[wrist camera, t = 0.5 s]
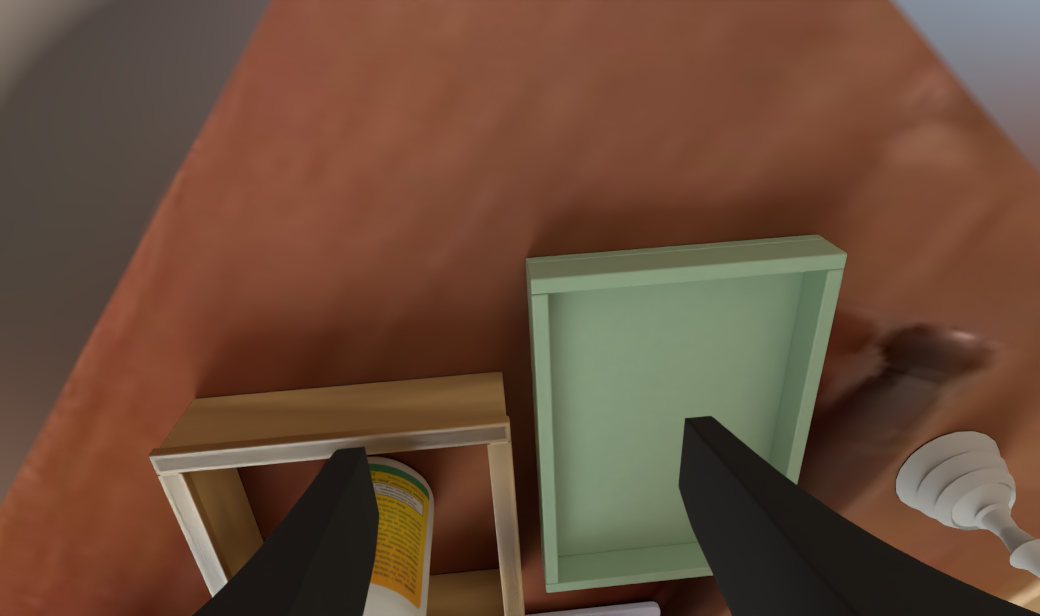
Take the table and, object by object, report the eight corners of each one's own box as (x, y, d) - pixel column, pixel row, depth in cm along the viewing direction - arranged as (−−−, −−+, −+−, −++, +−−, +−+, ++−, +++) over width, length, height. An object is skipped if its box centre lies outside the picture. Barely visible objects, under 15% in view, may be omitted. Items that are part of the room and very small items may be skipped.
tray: (760, 534, 30) (779, 568, 28) (541, 557, 29) (546, 593, 27) (818, 233, 22) (848, 253, 21) (525, 257, 22) (530, 279, 20)
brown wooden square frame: (521, 576, 30) (527, 642, 27) (269, 603, 29) (245, 673, 26) (504, 368, 24) (509, 422, 21) (189, 396, 23) (147, 456, 20)
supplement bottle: (444, 530, 28) (433, 760, 19) (332, 547, 28) (272, 785, 19) (422, 442, 25) (397, 662, 17) (298, 461, 25) (212, 691, 17)
